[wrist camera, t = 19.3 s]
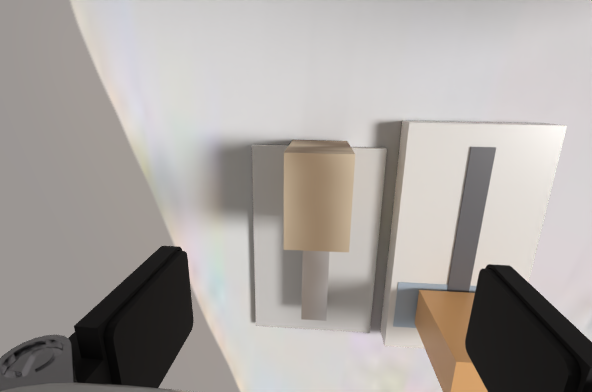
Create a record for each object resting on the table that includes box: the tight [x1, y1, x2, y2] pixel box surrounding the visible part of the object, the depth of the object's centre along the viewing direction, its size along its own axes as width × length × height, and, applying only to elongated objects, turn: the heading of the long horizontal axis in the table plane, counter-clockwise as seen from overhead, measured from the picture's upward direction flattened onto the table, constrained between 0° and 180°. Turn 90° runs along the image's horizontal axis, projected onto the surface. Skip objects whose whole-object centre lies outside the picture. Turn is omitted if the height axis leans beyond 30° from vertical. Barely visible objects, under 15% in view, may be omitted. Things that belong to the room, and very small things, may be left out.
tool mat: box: [252, 145, 387, 333], centre depth 27 cm, size 10×16×1 cm, turn 179°
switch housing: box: [380, 121, 567, 349], centre depth 25 cm, size 10×18×2 cm, turn 179°
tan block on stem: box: [284, 140, 355, 321], centre depth 23 cm, size 4×14×6 cm, turn 179°
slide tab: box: [415, 290, 488, 392], centre depth 22 cm, size 6×3×7 cm, turn 89°
